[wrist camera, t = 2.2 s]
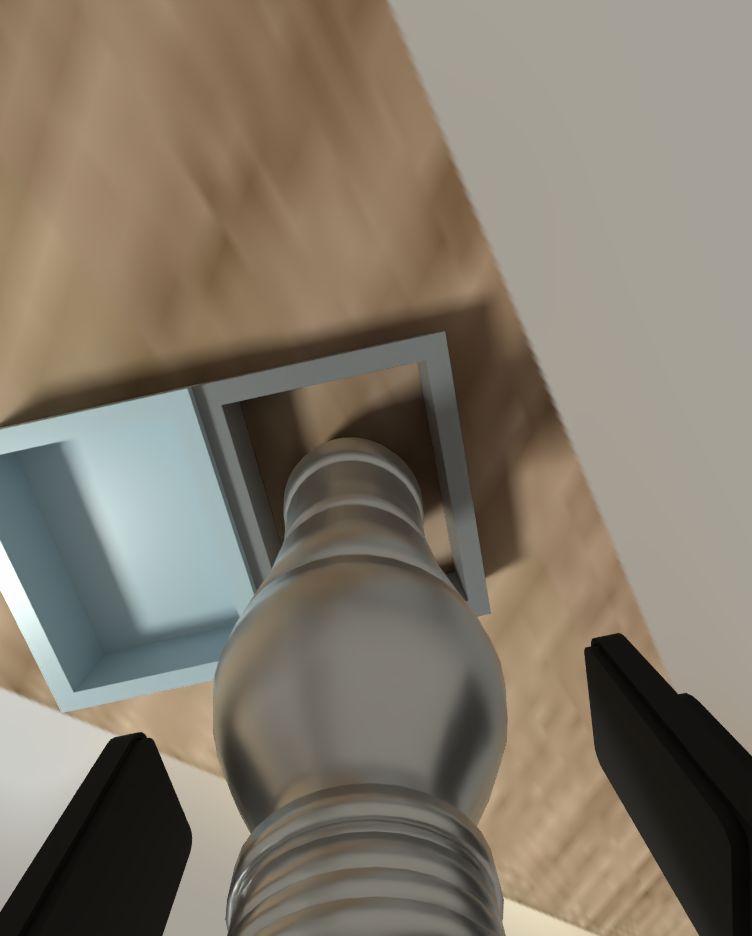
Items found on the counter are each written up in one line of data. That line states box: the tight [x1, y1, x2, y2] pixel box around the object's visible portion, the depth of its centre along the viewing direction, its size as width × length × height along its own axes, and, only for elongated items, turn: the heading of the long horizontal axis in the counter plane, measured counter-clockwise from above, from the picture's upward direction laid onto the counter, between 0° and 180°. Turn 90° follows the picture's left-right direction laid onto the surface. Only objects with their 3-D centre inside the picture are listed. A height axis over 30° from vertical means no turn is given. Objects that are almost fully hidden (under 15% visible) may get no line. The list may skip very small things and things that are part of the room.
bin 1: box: [0, 381, 257, 713], centre depth 23 cm, size 14×11×4 cm
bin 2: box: [191, 331, 491, 616], centre depth 23 cm, size 14×11×3 cm
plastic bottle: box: [213, 437, 508, 936], centre depth 15 cm, size 6×7×20 cm
